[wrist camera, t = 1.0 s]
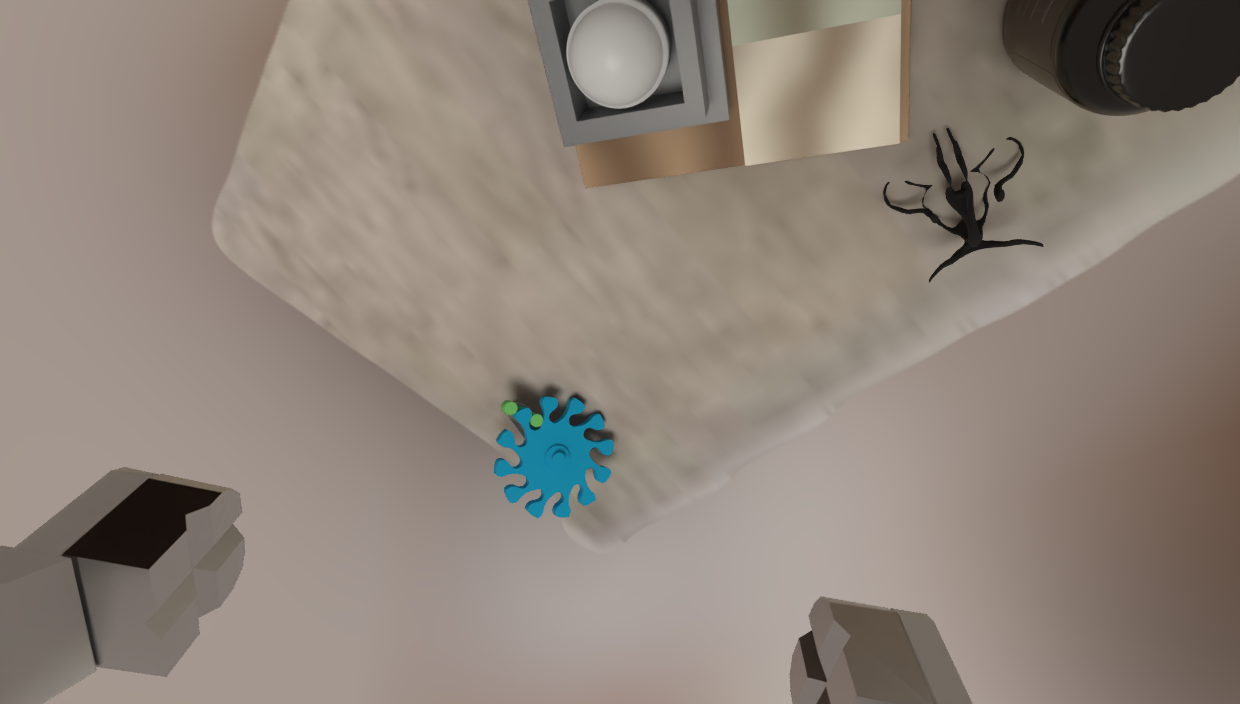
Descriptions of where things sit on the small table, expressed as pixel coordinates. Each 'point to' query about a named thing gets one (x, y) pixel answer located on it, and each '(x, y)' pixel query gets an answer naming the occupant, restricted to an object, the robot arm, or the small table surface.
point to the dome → (618, 52)
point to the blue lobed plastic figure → (551, 454)
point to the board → (784, 91)
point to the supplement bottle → (1127, 51)
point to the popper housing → (678, 101)
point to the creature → (966, 206)
